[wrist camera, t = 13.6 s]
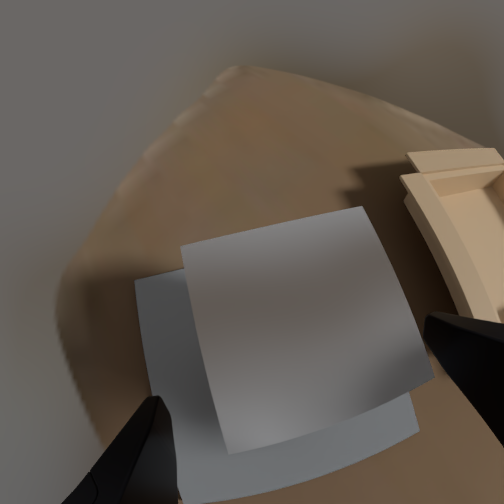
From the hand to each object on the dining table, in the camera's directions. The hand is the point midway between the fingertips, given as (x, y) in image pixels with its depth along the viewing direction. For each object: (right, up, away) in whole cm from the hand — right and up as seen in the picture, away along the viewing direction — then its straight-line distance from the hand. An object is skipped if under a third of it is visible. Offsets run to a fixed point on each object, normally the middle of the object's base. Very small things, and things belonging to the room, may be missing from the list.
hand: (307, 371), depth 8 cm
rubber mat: (0, -3, +7) cm, 8 cm away
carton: (+18, +3, +11) cm, 22 cm away
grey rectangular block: (0, -3, +7) cm, 7 cm away
